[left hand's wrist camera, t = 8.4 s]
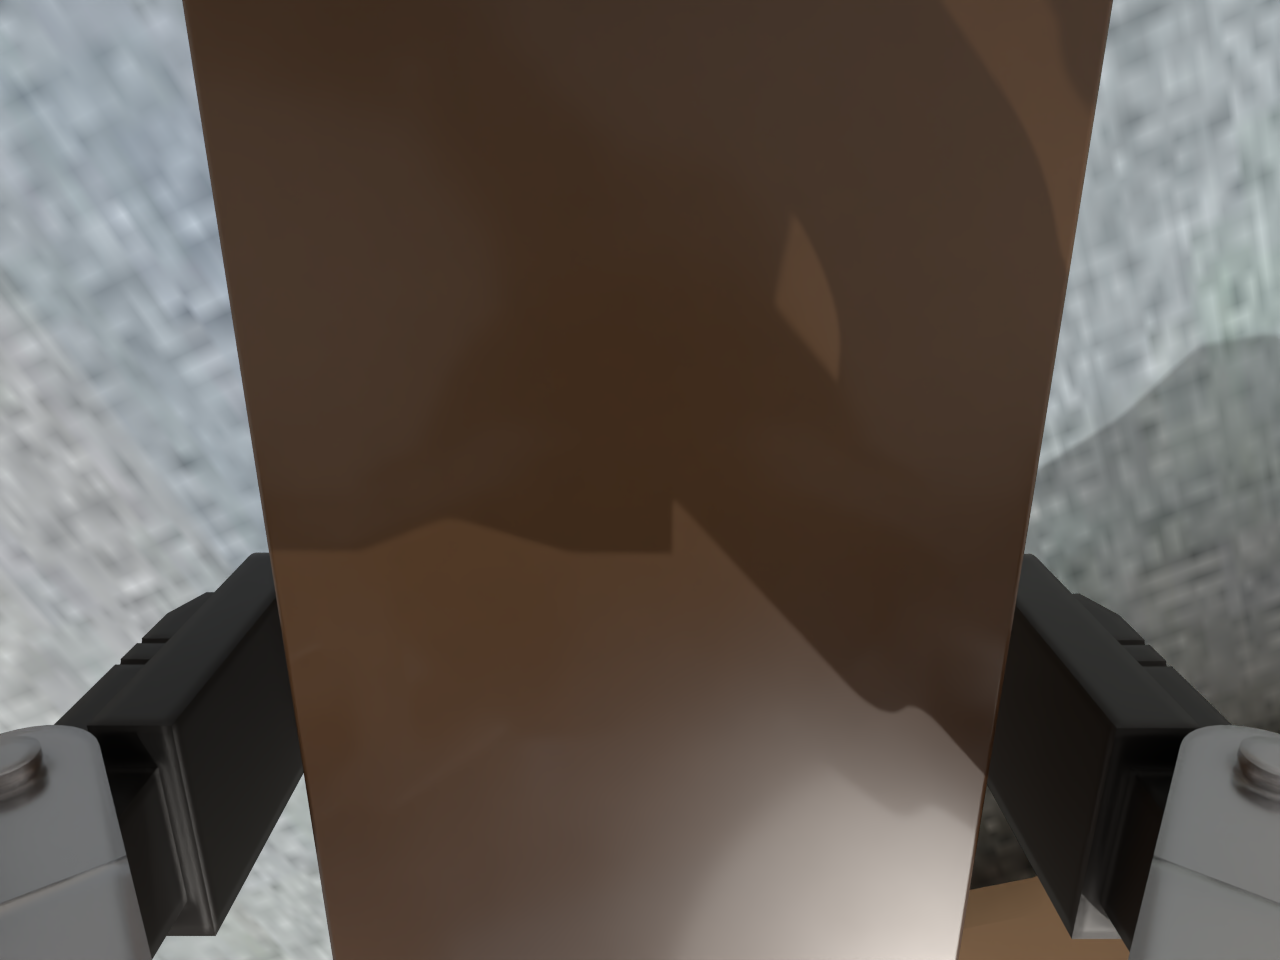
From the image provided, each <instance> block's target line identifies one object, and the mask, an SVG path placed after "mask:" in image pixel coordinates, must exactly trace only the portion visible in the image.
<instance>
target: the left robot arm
mask: <svg viewBox="0 0 1280 960" xmlns="http://www.w3.org/2000/svg"><path fill="white" fill-rule="evenodd" d="M303 773H304V771H303V764H302V758H301V752H300V745H299V739H298V733H297V726H296V720H295V714H294V707H293V701H292V694H291V688H290V682H289V675H288V669H287V663H286V656H285V650H284V644H283V637H282V631H281V625H280V618H279V612H278V605H277V599H276V593H275V586H274V580H273V574H272V567H271V561H270V555H269V553H253V554H251V555H250V556H249V557H248V558H247V559H246V560H245V561H244V562H243V563H242V564H241V565H240V566H239V567H238V568H237V569H236V570H235V571H234V572H233V573H232V575H231V576H230V577H229V578H228V579H227V580H226V581H225V582H224V583H223V584H222V585H221V586H220V587H219V588H218V589H217V590H216V591H215V592H206V593H204V594H202V595H201V596H199V597H197V598H195V599H193V600H191V601H189V602H188V603H186V604H184V605H182V606H180V607H178V608H177V609H175V610H173V611H171V612H169V613H167V614H166V615H165V616H164V617H163V618H162V619H161V620H160V621H159V622H158V623H157V624H156V625H155V626H154V627H153V628H152V629H151V630H150V631H149V632H148V633H147V634H146V635H145V636H144V637H143V638H142V643H137V644H136V645H135V646H134V647H133V648H132V649H131V650H130V651H129V652H128V653H127V654H126V655H125V656H124V657H123V658H122V659H121V664H120V665H114V666H113V667H112V668H111V669H110V670H109V671H108V672H107V673H106V674H105V675H104V676H103V677H102V678H101V679H100V680H99V681H98V682H97V683H96V684H95V685H94V686H93V687H92V688H91V689H90V690H89V691H88V692H87V693H86V694H85V695H84V696H83V697H82V698H81V699H80V700H79V701H78V702H77V703H76V704H75V705H74V706H73V707H72V708H71V709H70V710H69V711H68V712H67V713H66V714H65V715H63V716H62V717H61V718H60V719H59V720H58V721H57V722H56V723H55V724H54V725H44V726H34V727H28V728H22V729H17V730H13V731H9V732H5V733H1V734H0V960H152V959H153V957H154V955H155V954H156V952H157V950H158V949H159V947H160V945H161V944H162V942H163V940H164V939H165V937H166V936H216V934H217V932H218V930H219V929H220V927H221V925H222V923H223V921H224V919H225V917H226V916H227V914H228V912H229V910H230V908H231V906H232V904H233V903H234V901H235V899H236V897H237V895H238V893H239V892H240V890H241V888H242V886H243V884H244V882H245V880H246V879H247V877H248V875H249V873H250V871H251V869H252V867H253V866H254V864H255V862H256V860H257V858H258V856H259V854H260V853H261V851H262V849H263V847H264V845H265V843H266V841H267V840H268V838H269V836H270V834H271V832H272V830H273V828H274V827H275V825H276V823H277V821H278V819H279V817H280V816H281V814H282V812H283V810H284V808H285V806H286V804H287V803H288V801H289V799H290V797H291V795H292V793H293V791H294V790H295V788H296V786H297V784H298V782H299V780H300V778H301V777H302V775H303ZM987 785H988V787H989V789H990V790H991V792H992V794H993V796H994V798H995V800H996V801H997V803H998V805H999V807H1000V809H1001V811H1002V812H1003V814H1004V816H1005V818H1006V820H1007V822H1008V823H1009V825H1010V827H1011V829H1012V831H1013V833H1014V834H1015V836H1016V838H1017V840H1018V842H1019V844H1020V845H1021V847H1022V849H1023V851H1024V853H1025V854H1026V856H1027V858H1028V860H1029V862H1030V864H1031V865H1032V867H1033V869H1034V871H1035V873H1036V875H1037V876H1038V878H1039V880H1040V882H1041V884H1042V886H1043V887H1044V889H1045V891H1046V893H1047V895H1048V897H1049V898H1050V900H1051V902H1052V904H1053V906H1054V908H1055V909H1056V911H1057V913H1058V915H1059V917H1060V919H1061V920H1062V922H1063V924H1064V926H1065V928H1066V930H1067V931H1068V933H1069V935H1070V937H1071V939H1122V941H1123V942H1124V944H1125V945H1126V947H1127V949H1128V950H1129V952H1130V954H1129V958H1128V960H1280V734H1279V733H1275V732H1271V731H1267V730H1263V729H1258V728H1252V727H1246V726H1236V725H1231V724H1230V723H1229V722H1228V721H1227V720H1226V719H1225V718H1224V717H1223V716H1222V715H1221V714H1220V713H1219V712H1218V711H1217V710H1216V709H1215V708H1214V707H1213V706H1212V705H1211V704H1210V703H1209V702H1208V701H1207V700H1206V699H1205V698H1204V697H1202V696H1201V695H1200V694H1199V693H1198V692H1197V691H1196V690H1195V689H1194V688H1193V687H1192V686H1191V685H1190V684H1189V683H1188V682H1187V681H1186V680H1185V679H1184V678H1183V677H1182V676H1181V675H1180V674H1179V673H1178V672H1177V671H1176V670H1175V669H1174V668H1173V667H1167V666H1166V661H1165V660H1164V659H1163V658H1162V657H1161V656H1160V655H1159V654H1158V653H1157V652H1156V651H1155V650H1154V649H1153V648H1152V647H1151V646H1150V645H1145V643H1144V639H1143V638H1142V637H1141V636H1140V635H1139V634H1138V633H1137V632H1136V631H1135V630H1134V629H1133V628H1132V627H1131V626H1130V625H1129V624H1127V623H1126V622H1125V621H1124V620H1123V619H1122V618H1121V617H1120V616H1119V615H1118V614H1116V613H1114V612H1112V611H1110V610H1109V609H1107V608H1105V607H1103V606H1101V605H1099V604H1097V603H1096V602H1094V601H1092V600H1090V599H1088V598H1086V597H1084V596H1083V595H1081V594H1071V593H1070V592H1069V590H1068V589H1067V588H1066V587H1065V586H1064V585H1063V584H1062V583H1061V582H1060V581H1059V580H1058V579H1057V578H1056V577H1055V576H1054V575H1053V574H1052V573H1051V572H1050V571H1049V570H1048V569H1047V568H1046V567H1045V566H1044V565H1043V564H1042V563H1041V562H1040V561H1039V560H1038V559H1037V558H1036V557H1035V556H1034V555H1032V554H1024V556H1023V562H1022V568H1021V574H1020V580H1019V587H1018V593H1017V599H1016V605H1015V611H1014V618H1013V624H1012V630H1011V636H1010V642H1009V649H1008V655H1007V661H1006V667H1005V674H1004V680H1003V686H1002V692H1001V698H1000V705H999V711H998V717H997V723H996V729H995V736H994V742H993V748H992V754H991V760H990V767H989V773H988V779H987Z"/></svg>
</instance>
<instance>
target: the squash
mask: <svg viewBox="0 0 1280 960" xmlns="http://www.w3.org/2000/svg"><path fill="white" fill-rule="evenodd" d="M1129 954H1130V952H1129V950H1128V949H1127V947H1126V945H1125V944H1124V942H1123V941H1122V939H1071V937H1070V935H1069V933H1068V931H1067V930H1066V928H1065V926H1064V924H1063V922H1062V920H1061V919H1060V917H1059V915H1058V913H1057V911H1056V909H1055V908H1054V906H1053V904H1052V902H1051V900H1050V898H1049V897H1048V895H1047V893H1046V891H1045V889H1044V887H1043V886H1042V884H1041V882H1040V880H1039V878H1038V876H1035V877H1033V878H1028V879H1023V880H1018V881H1013V882H1008V883H1003V884H998V885H993V886H988V887H982V888H977V889H972V890H970V891H969V897H968V903H967V909H966V916H965V922H964V928H963V934H962V940H961V947H960V953H959V959H958V960H1128V958H1129Z"/></svg>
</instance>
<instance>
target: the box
mask: <svg viewBox="0 0 1280 960" xmlns="http://www.w3.org/2000/svg"><path fill="white" fill-rule="evenodd" d="M182 1H183V8H184V14H185V20H186V27H187V33H188V39H189V46H190V52H191V59H192V65H193V71H194V78H195V84H196V90H197V97H198V103H199V109H200V116H201V122H202V128H203V135H204V141H205V148H206V154H207V160H208V167H209V173H210V179H211V186H212V192H213V198H214V205H215V211H216V218H217V224H218V230H219V237H220V243H221V249H222V256H223V262H224V268H225V275H226V281H227V287H228V294H229V300H230V307H231V313H232V319H233V326H234V332H235V338H236V345H237V351H238V357H239V364H240V370H241V377H242V383H243V389H244V396H245V402H246V408H247V415H248V421H249V427H250V434H251V440H252V446H253V453H254V459H255V466H256V472H257V478H258V485H259V491H260V497H261V504H262V510H263V516H264V523H265V529H266V535H267V542H268V548H269V555H270V561H271V567H272V574H273V580H274V586H275V593H276V599H277V605H278V612H279V618H280V625H281V631H282V637H283V644H284V650H285V656H286V663H287V669H288V675H289V682H290V688H291V694H292V701H293V707H294V714H295V720H296V726H297V733H298V739H299V745H300V752H301V758H302V764H303V771H304V777H305V784H306V790H307V796H308V803H309V809H310V815H311V822H312V828H313V834H314V841H315V847H316V853H317V860H318V866H319V873H320V879H321V885H322V892H323V898H324V904H325V911H326V917H327V923H328V930H329V936H330V942H331V949H332V955H333V960H958V959H959V953H960V947H961V940H962V934H963V928H964V922H965V916H966V909H967V903H968V897H969V891H970V884H971V878H972V872H973V866H974V860H975V853H976V847H977V841H978V835H979V829H980V822H981V816H982V810H983V804H984V798H985V791H986V785H987V779H988V773H989V767H990V760H991V754H992V748H993V742H994V736H995V729H996V723H997V717H998V711H999V705H1000V698H1001V692H1002V686H1003V680H1004V674H1005V667H1006V661H1007V655H1008V649H1009V642H1010V636H1011V630H1012V624H1013V618H1014V611H1015V605H1016V599H1017V593H1018V587H1019V580H1020V574H1021V568H1022V562H1023V556H1024V549H1025V543H1026V537H1027V531H1028V525H1029V518H1030V512H1031V506H1032V500H1033V494H1034V487H1035V481H1036V475H1037V469H1038V463H1039V456H1040V450H1041V444H1042V438H1043V432H1044V425H1045V419H1046V413H1047V407H1048V400H1049V394H1050V388H1051V382H1052V376H1053V369H1054V363H1055V357H1056V351H1057V345H1058V338H1059V332H1060V326H1061V320H1062V314H1063V307H1064V301H1065V295H1066V289H1067V283H1068V276H1069V270H1070V264H1071V258H1072V252H1073V245H1074V239H1075V233H1076V227H1077V221H1078V214H1079V208H1080V202H1081V196H1082V189H1083V183H1084V177H1085V171H1086V165H1087V158H1088V152H1089V146H1090V140H1091V134H1092V127H1093V121H1094V115H1095V109H1096V103H1097V96H1098V90H1099V84H1100V78H1101V72H1102V65H1103V59H1104V53H1105V47H1106V41H1107V34H1108V28H1109V22H1110V16H1111V10H1112V3H1113V0H182Z"/></svg>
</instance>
